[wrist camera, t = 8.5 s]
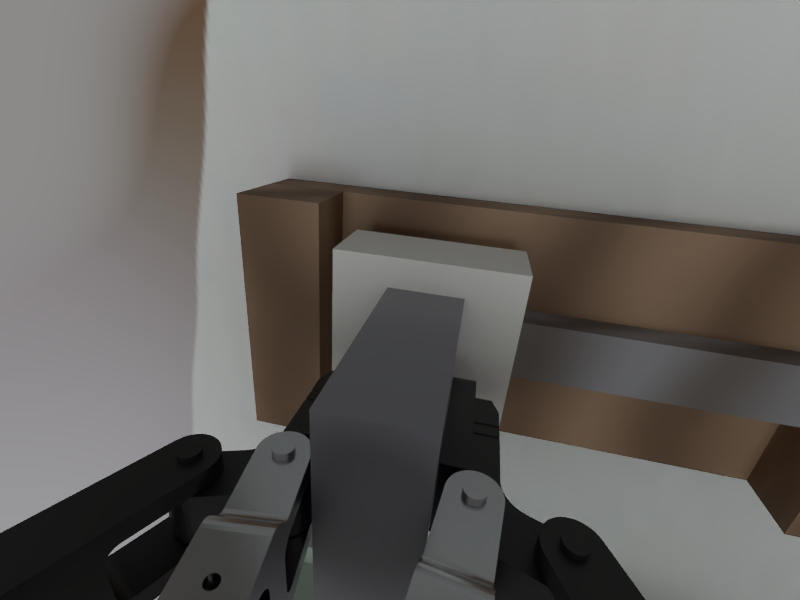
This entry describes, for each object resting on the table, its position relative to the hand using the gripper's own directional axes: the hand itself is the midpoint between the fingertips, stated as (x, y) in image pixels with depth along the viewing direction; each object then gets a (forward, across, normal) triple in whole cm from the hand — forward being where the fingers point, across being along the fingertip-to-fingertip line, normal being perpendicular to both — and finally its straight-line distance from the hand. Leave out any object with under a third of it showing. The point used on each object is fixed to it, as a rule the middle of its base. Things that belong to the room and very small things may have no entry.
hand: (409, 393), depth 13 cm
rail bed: (+7, -5, 0) cm, 8 cm away
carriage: (+4, 0, 0) cm, 4 cm away
